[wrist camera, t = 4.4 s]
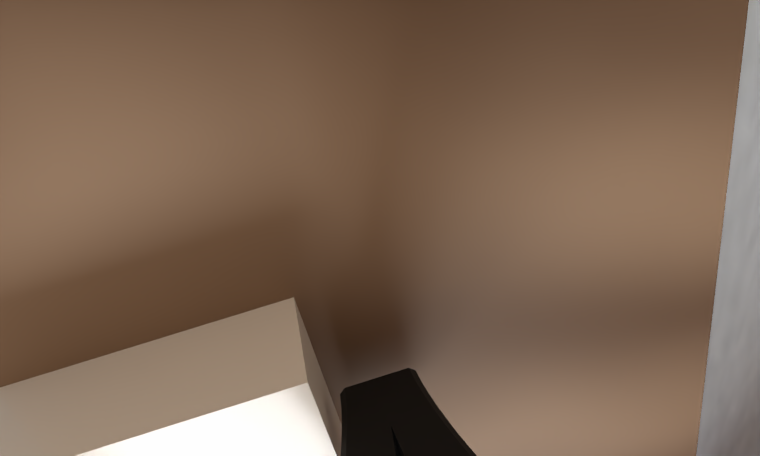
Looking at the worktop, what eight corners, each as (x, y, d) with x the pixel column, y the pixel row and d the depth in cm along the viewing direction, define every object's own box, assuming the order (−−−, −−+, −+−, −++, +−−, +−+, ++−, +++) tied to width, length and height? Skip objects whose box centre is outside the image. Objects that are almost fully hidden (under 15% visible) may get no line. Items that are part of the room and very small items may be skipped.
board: (664, 465, 18) (690, 502, 17) (217, 618, 17) (217, 667, 16) (712, -206, 9) (773, -212, 8) (-210, 34, 8) (-267, 61, 7)
